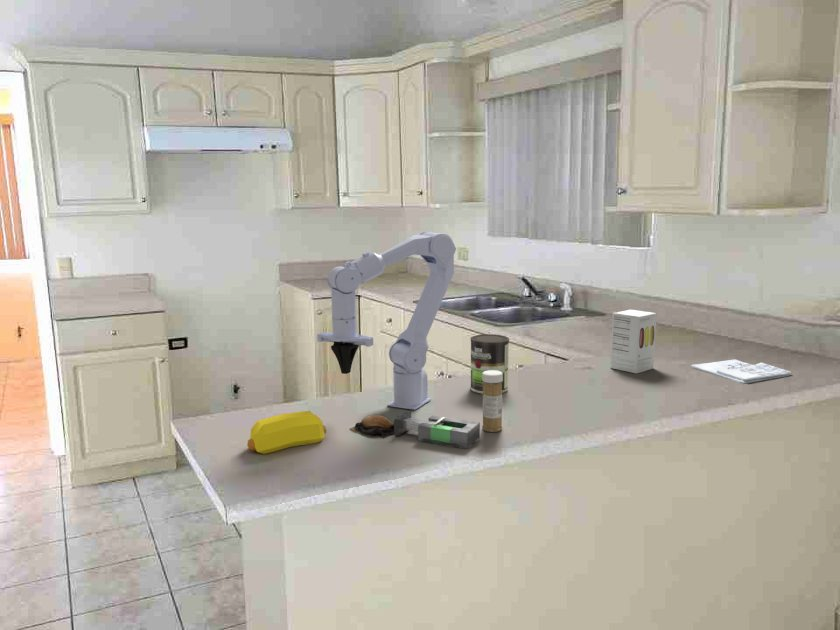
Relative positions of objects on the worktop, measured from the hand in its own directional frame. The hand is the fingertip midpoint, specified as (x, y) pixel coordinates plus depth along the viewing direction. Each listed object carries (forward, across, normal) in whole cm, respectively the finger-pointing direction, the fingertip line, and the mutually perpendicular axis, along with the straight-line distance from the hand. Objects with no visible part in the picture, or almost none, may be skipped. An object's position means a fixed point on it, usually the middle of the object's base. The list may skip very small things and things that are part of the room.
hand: (346, 372), depth 176 cm
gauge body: (+10, +30, -6) cm, 32 cm away
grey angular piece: (+10, +23, -6) cm, 26 cm away
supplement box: (+11, +55, +71) cm, 90 cm away
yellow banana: (+11, -1, -23) cm, 25 cm away
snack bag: (+11, +84, +80) cm, 117 cm away
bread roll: (+11, +12, -7) cm, 18 cm away
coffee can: (+11, +24, +34) cm, 43 cm away
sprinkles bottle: (+11, +36, +4) cm, 38 cm away
